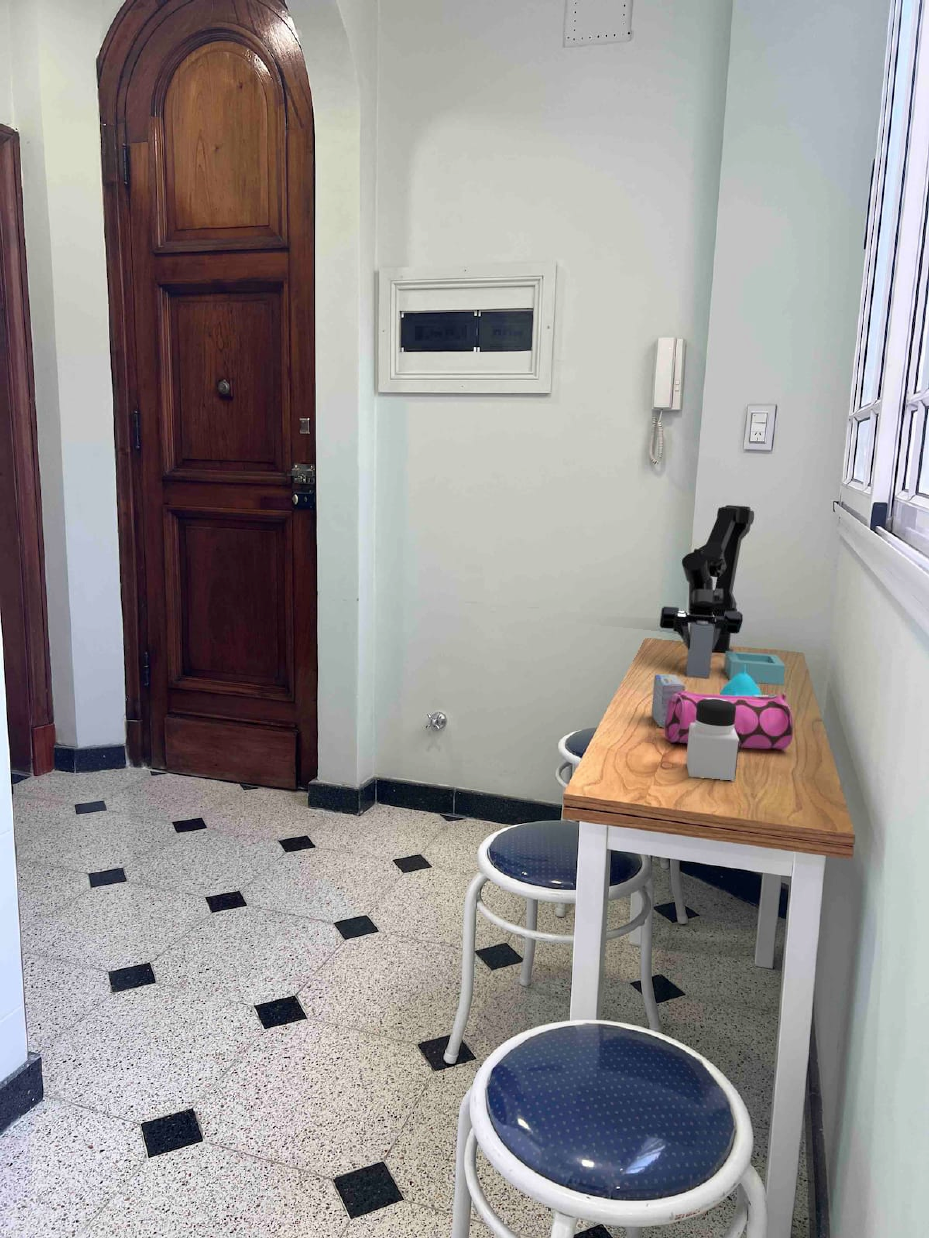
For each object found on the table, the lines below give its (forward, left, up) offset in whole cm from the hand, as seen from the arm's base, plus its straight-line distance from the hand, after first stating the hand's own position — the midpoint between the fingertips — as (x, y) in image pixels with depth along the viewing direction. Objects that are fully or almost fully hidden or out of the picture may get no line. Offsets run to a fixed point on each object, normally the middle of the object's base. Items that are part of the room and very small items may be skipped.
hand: (700, 649), depth 207 cm
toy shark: (+33, 0, -7) cm, 33 cm away
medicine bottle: (+66, -15, -7) cm, 68 cm away
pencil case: (+51, -8, -7) cm, 52 cm away
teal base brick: (-2, +14, -7) cm, 15 cm away
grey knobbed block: (-1, 0, -7) cm, 7 cm away
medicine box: (+39, -16, -7) cm, 42 cm away
